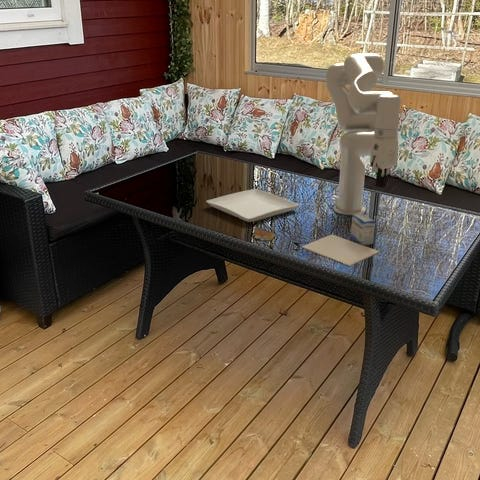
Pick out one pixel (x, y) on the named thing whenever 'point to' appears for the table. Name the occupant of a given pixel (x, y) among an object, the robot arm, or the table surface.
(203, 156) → the table surface
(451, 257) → the table surface
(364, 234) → the medicine box
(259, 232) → the shard
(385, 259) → the table surface
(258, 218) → the square plate
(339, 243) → the mat
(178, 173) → the table surface
